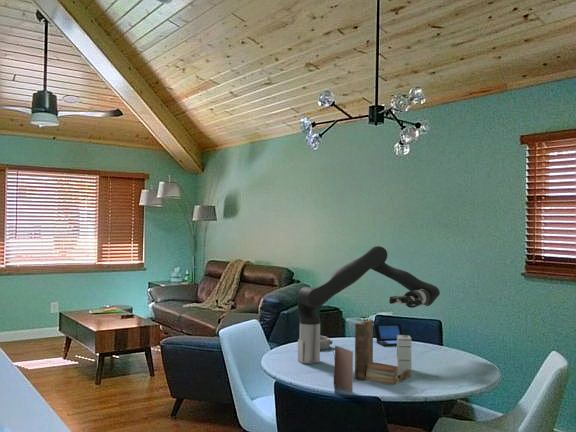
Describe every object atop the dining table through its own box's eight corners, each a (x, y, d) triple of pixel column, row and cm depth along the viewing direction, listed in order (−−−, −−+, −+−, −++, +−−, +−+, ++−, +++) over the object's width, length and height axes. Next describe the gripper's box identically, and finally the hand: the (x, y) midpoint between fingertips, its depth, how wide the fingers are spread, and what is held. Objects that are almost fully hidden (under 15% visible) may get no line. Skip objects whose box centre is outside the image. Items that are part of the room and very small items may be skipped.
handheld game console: (383, 347, 275) (383, 329, 275) (373, 341, 288) (373, 324, 288) (411, 346, 278) (411, 328, 279) (400, 340, 291) (400, 323, 292)
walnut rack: (391, 386, 206) (391, 328, 206) (354, 379, 216) (355, 323, 216) (410, 376, 220) (411, 322, 220) (375, 370, 230) (376, 318, 230)
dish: (310, 351, 263) (310, 341, 263) (298, 345, 275) (298, 336, 275) (336, 349, 268) (336, 339, 269) (323, 343, 281) (323, 334, 281)
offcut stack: (393, 385, 207) (393, 369, 208) (365, 379, 215) (365, 364, 215) (400, 382, 212) (400, 366, 212) (372, 376, 220) (372, 361, 220)
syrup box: (411, 372, 226) (412, 337, 227) (397, 372, 227) (397, 337, 227) (410, 369, 232) (410, 335, 232) (396, 368, 233) (396, 334, 233)
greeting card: (332, 384, 208) (332, 345, 208) (351, 385, 207) (352, 345, 208) (332, 393, 197) (332, 352, 197) (352, 394, 196) (353, 352, 196)
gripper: (400, 289, 254) (384, 292, 241) (429, 291, 245) (414, 295, 232) (400, 305, 253) (384, 309, 241) (429, 308, 245) (414, 312, 232)
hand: (399, 302), depth 236 cm, fingers open, 8 cm apart
